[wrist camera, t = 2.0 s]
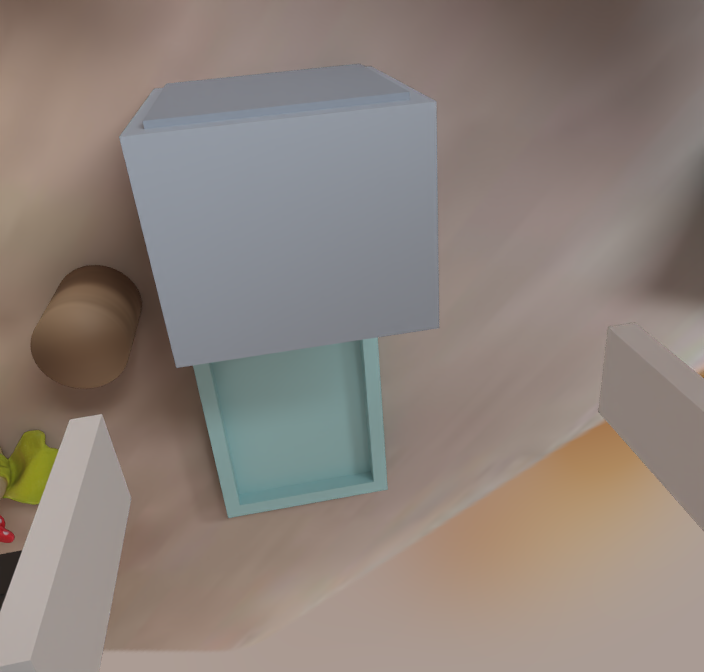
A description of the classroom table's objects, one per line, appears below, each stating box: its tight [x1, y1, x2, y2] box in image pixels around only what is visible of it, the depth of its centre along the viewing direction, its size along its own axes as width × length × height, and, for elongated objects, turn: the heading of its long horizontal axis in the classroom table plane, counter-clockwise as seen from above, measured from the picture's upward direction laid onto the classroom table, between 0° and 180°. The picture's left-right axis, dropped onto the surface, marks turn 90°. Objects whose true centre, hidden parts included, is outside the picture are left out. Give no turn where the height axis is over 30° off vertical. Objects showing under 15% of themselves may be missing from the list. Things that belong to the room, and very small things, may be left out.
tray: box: [193, 337, 388, 518], centre depth 45 cm, size 17×12×2 cm
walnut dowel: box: [31, 265, 142, 389], centre depth 37 cm, size 5×5×6 cm
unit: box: [119, 64, 439, 368], centre depth 32 cm, size 11×12×13 cm
